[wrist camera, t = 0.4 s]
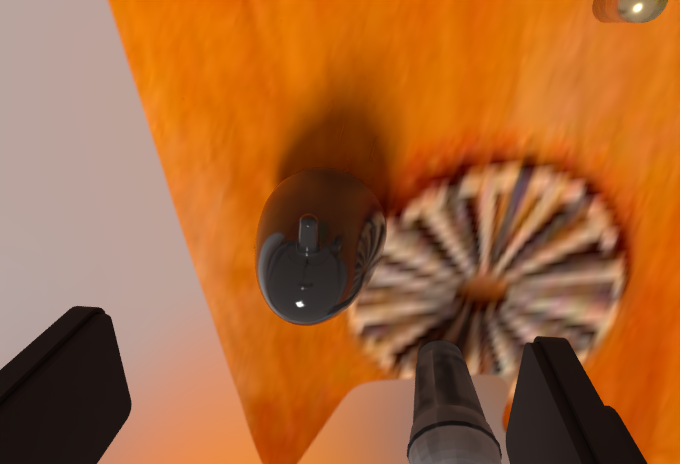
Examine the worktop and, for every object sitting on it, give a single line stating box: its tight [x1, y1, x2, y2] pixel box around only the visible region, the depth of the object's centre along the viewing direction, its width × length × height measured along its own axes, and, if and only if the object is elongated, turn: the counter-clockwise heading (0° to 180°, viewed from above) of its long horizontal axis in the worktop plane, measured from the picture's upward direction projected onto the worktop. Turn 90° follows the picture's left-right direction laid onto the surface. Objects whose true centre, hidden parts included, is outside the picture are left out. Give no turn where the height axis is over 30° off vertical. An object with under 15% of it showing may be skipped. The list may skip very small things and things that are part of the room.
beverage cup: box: [407, 340, 502, 464], centre depth 37 cm, size 7×7×20 cm
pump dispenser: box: [255, 167, 387, 326], centre depth 34 cm, size 10×10×15 cm
